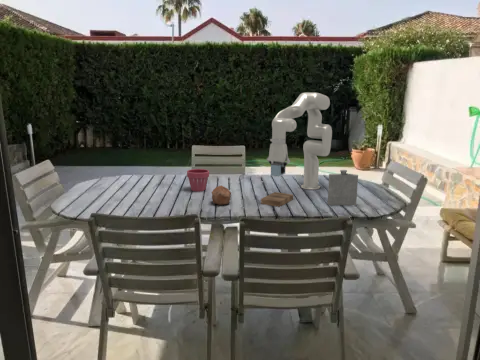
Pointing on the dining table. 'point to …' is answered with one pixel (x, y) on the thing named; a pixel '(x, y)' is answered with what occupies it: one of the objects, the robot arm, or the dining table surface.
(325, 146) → the robot arm
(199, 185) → the plant pot
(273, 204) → the stand
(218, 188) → the decorative rock
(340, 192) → the hip flask
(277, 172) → the block
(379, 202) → the dining table surface
